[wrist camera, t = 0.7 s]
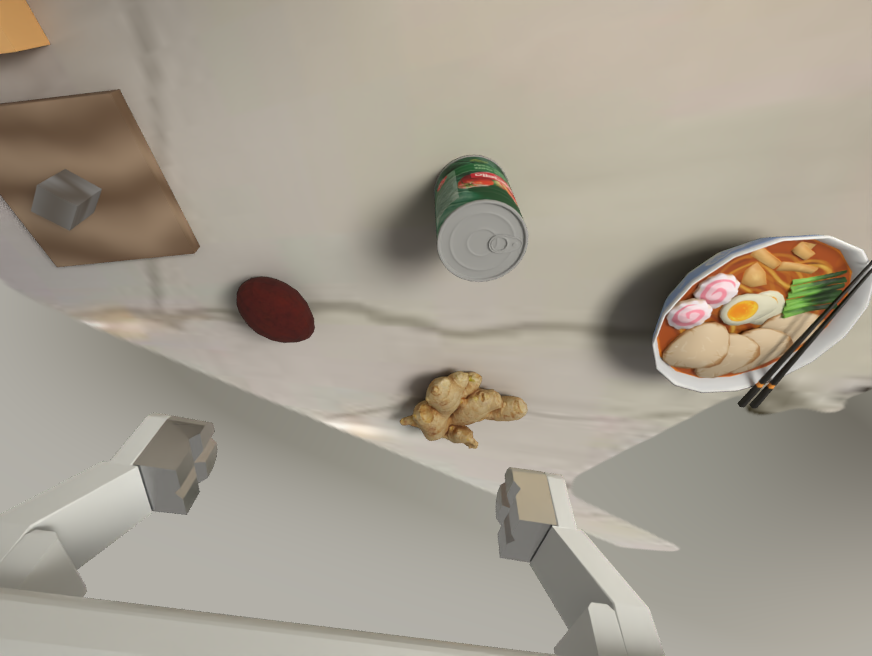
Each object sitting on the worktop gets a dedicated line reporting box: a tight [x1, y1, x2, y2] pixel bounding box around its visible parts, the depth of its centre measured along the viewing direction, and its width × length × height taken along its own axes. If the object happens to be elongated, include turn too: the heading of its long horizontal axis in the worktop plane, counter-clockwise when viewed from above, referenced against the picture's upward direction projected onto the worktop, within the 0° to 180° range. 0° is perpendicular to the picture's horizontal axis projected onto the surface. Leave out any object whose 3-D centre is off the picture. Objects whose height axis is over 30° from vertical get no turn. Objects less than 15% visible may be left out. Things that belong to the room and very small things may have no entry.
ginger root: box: [400, 371, 527, 449], centre depth 64 cm, size 16×16×8 cm
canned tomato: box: [434, 155, 528, 282], centre depth 41 cm, size 8×8×11 cm
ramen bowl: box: [652, 235, 872, 408], centre depth 51 cm, size 25×23×8 cm
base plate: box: [0, 89, 200, 267], centre depth 42 cm, size 16×16×6 cm
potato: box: [237, 277, 315, 343], centre depth 51 cm, size 7×10×6 cm
